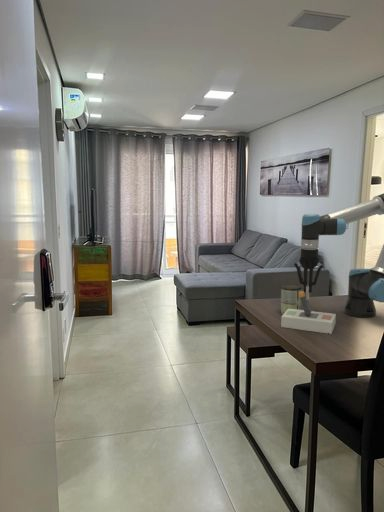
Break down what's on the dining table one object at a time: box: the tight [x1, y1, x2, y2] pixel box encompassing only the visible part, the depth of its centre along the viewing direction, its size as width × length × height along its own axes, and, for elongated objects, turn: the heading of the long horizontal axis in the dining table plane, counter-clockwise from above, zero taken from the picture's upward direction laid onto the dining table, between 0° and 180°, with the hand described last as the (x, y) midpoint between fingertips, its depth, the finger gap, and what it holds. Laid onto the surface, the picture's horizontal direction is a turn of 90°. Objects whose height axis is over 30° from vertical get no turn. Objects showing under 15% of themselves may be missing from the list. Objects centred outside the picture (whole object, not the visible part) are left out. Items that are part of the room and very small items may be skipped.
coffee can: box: [280, 283, 303, 315], centre depth 197 cm, size 10×10×14 cm
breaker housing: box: [280, 309, 337, 335], centre depth 177 cm, size 22×14×5 cm, turn 63°
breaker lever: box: [298, 290, 313, 316], centre depth 177 cm, size 3×6×11 cm, turn 153°
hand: (307, 299), depth 176 cm, fingers closed
